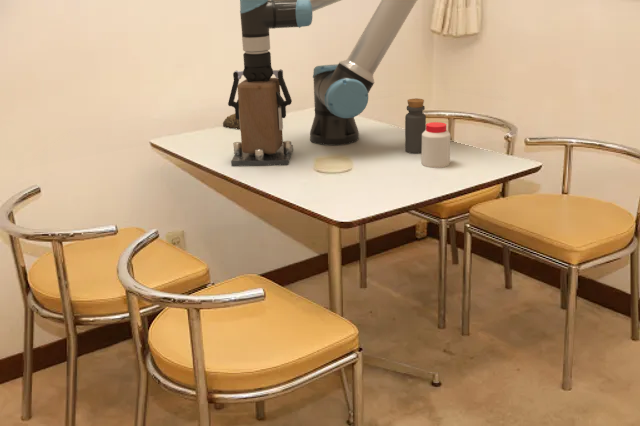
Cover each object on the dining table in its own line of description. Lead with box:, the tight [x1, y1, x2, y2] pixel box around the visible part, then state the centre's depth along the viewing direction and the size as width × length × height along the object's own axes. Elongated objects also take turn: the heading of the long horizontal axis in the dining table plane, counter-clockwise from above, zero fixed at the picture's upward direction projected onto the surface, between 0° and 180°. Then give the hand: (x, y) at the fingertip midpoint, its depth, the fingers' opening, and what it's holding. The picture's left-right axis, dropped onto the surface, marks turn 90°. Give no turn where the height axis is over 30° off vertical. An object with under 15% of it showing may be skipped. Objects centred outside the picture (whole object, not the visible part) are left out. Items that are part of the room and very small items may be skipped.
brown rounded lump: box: [222, 113, 240, 130], centre depth 263 cm, size 13×12×5 cm
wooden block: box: [237, 77, 284, 154], centre depth 222 cm, size 10×10×20 cm
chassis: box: [230, 140, 294, 167], centre depth 225 cm, size 17×17×4 cm
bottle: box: [404, 98, 427, 155], centre depth 224 cm, size 6×6×15 cm
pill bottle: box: [420, 121, 451, 169], centre depth 213 cm, size 8×8×11 cm
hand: (261, 129), depth 223 cm, fingers closed on wooden block, 10 cm apart
